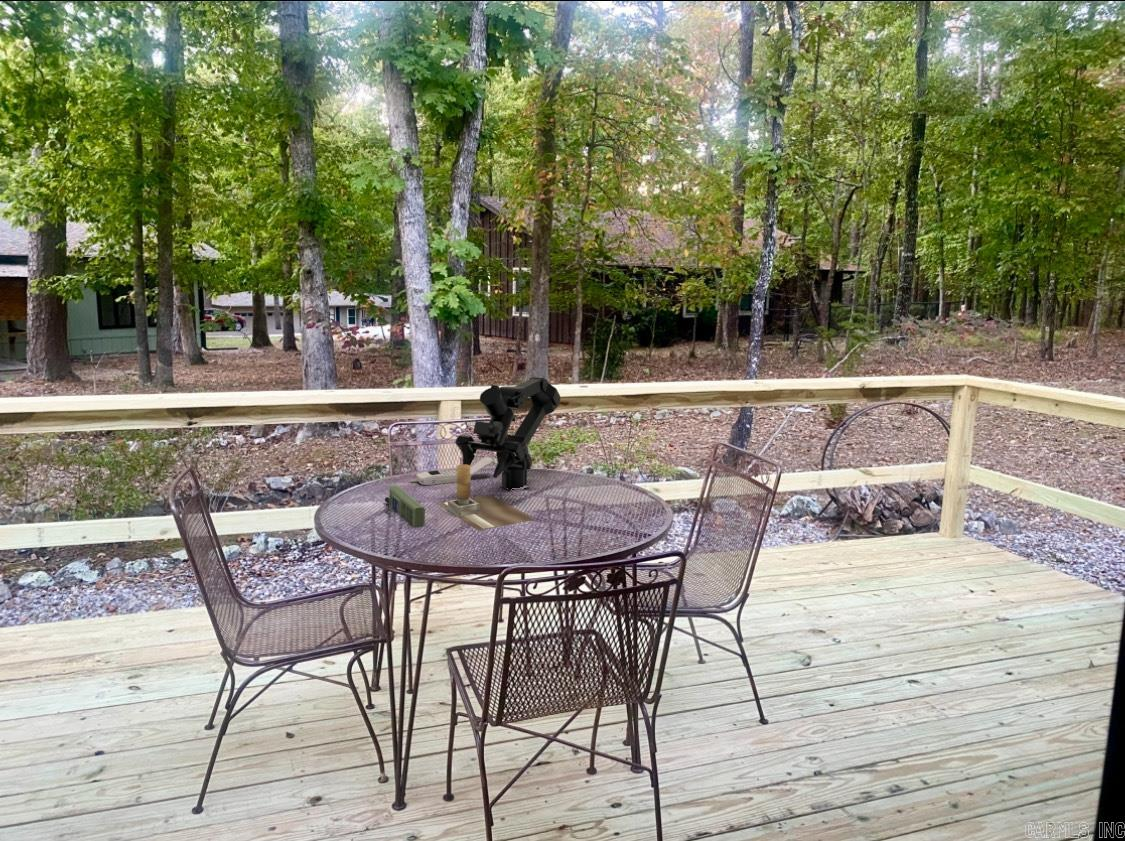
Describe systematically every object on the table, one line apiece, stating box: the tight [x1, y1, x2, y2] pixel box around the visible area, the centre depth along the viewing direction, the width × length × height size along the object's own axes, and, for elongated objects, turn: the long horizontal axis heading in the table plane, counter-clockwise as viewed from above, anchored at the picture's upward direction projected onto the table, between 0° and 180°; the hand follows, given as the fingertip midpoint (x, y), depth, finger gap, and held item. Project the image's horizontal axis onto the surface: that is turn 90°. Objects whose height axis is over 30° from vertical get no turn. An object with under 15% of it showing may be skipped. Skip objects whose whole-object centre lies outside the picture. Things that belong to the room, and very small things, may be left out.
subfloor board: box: [438, 494, 536, 532], centre depth 188 cm, size 16×23×4 cm
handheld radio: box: [384, 484, 426, 533], centre depth 186 cm, size 7×3×25 cm
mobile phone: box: [409, 456, 494, 486], centre depth 219 cm, size 6×6×25 cm
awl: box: [456, 463, 471, 506], centre depth 186 cm, size 3×3×12 cm
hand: (478, 474), depth 193 cm, fingers open, 9 cm apart
